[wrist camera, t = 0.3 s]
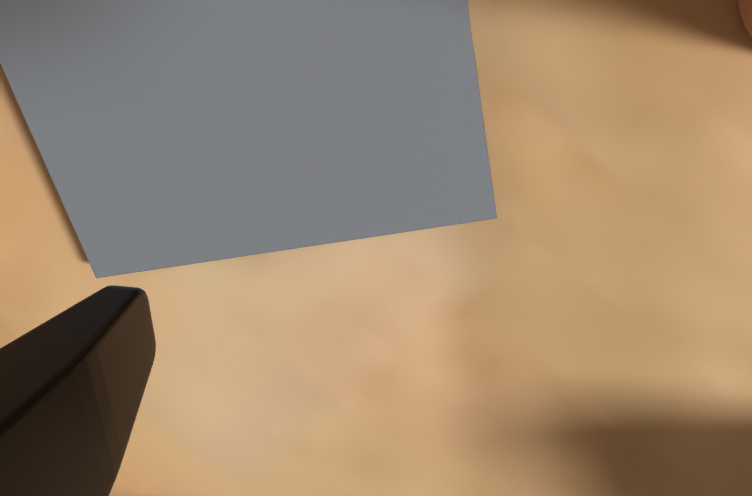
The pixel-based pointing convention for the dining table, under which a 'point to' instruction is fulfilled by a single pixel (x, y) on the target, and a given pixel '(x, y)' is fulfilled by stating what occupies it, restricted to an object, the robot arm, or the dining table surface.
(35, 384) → the robot arm
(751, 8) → the wooden peg
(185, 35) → the rubber mat
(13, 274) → the dining table surface
